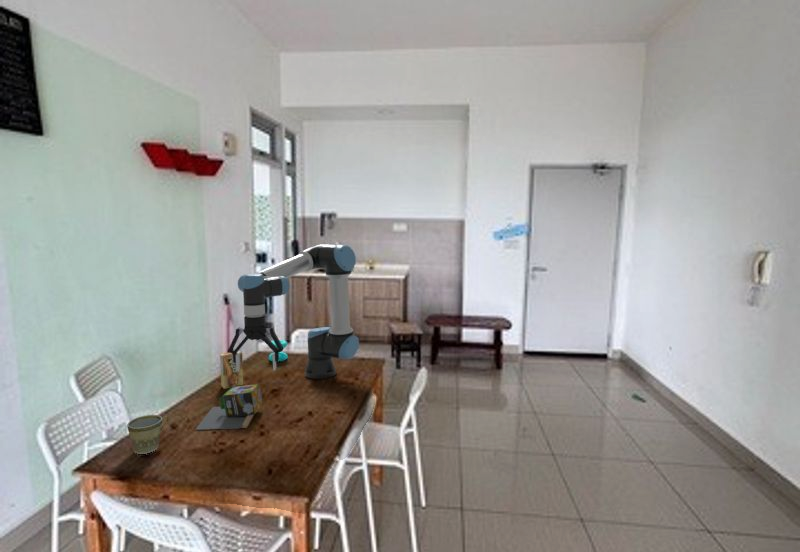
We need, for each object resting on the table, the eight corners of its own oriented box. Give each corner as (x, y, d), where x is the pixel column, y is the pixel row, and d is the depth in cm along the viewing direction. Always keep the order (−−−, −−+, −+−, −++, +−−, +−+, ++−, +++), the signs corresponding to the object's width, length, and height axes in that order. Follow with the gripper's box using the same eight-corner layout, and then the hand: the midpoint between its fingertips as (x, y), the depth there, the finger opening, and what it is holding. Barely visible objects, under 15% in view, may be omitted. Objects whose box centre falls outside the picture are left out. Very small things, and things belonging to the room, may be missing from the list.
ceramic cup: (139, 461, 142) (137, 430, 140) (123, 452, 147) (120, 423, 146) (178, 444, 153) (176, 415, 151) (161, 436, 158) (160, 409, 157)
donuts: (283, 344, 240) (265, 344, 241) (283, 362, 242) (265, 362, 243) (289, 339, 250) (272, 339, 251) (290, 357, 251) (272, 356, 252)
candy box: (240, 382, 212) (239, 350, 210) (243, 384, 208) (242, 352, 206) (221, 386, 206) (219, 354, 204) (224, 389, 203) (222, 356, 201)
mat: (258, 406, 184) (258, 402, 184) (246, 428, 164) (246, 424, 164) (212, 407, 182) (212, 404, 182) (195, 430, 163) (195, 426, 162)
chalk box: (260, 383, 179) (224, 386, 181) (251, 392, 170) (213, 395, 172) (263, 405, 181) (228, 408, 182) (254, 415, 171) (217, 418, 173)
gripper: (289, 312, 174) (291, 365, 177) (223, 313, 172) (225, 367, 175) (286, 316, 167) (288, 372, 170) (217, 317, 165) (219, 373, 167)
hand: (256, 369), depth 172 cm, fingers open, 13 cm apart
